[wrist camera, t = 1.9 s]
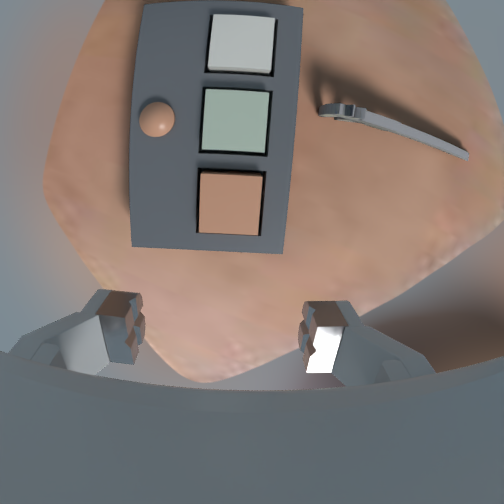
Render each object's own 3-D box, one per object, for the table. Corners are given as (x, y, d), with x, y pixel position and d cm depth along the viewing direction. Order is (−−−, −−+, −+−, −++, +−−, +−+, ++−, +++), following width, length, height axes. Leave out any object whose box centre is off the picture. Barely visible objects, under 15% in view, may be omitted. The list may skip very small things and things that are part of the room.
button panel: (154, 18, 22) (142, 2, 18) (294, 22, 23) (304, 5, 19) (143, 233, 30) (129, 249, 26) (277, 239, 31) (283, 256, 27)
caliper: (316, 116, 27) (336, 112, 21) (317, 106, 27) (337, 100, 21) (465, 160, 29) (499, 169, 23) (467, 152, 29) (500, 160, 23)
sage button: (209, 94, 24) (205, 89, 21) (265, 97, 24) (269, 92, 22) (205, 148, 26) (201, 149, 23) (261, 150, 26) (264, 152, 23)
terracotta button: (204, 169, 26) (200, 173, 24) (259, 172, 27) (262, 176, 24) (202, 222, 28) (198, 232, 26) (255, 225, 29) (257, 235, 26)
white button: (215, 26, 21) (213, 14, 19) (270, 29, 22) (274, 18, 19) (210, 73, 23) (207, 66, 20) (267, 76, 24) (270, 69, 21)
